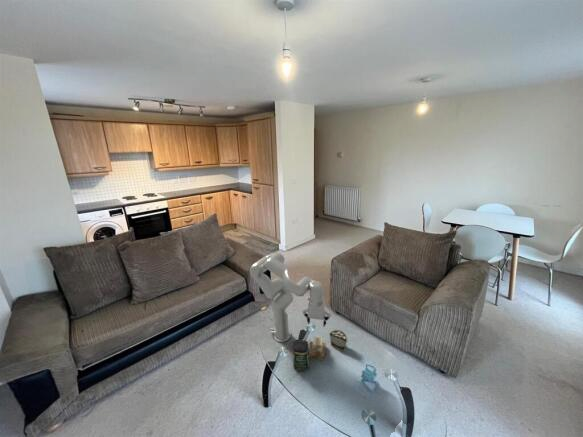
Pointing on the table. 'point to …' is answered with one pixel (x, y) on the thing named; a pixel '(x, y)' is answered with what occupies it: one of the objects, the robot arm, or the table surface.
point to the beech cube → (317, 344)
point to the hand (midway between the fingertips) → (316, 323)
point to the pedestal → (315, 354)
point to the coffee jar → (301, 355)
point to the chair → (369, 376)
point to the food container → (338, 339)
